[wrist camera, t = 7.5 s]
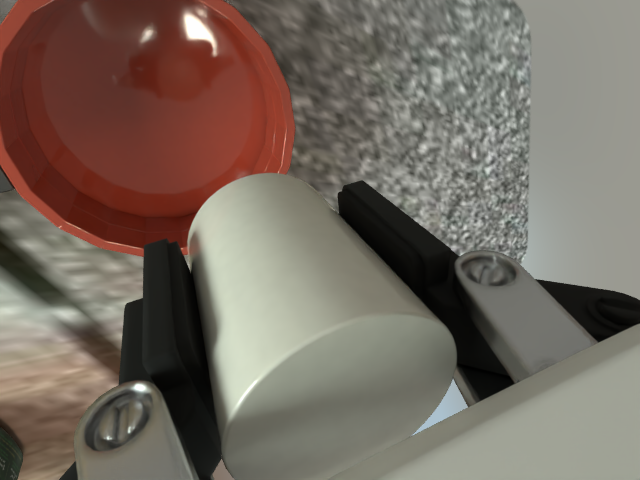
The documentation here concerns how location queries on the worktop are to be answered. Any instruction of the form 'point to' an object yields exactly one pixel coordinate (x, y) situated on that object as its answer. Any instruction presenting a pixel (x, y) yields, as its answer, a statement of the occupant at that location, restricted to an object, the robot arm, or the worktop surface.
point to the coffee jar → (9, 457)
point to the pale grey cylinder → (307, 334)
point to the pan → (136, 113)
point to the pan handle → (5, 182)
